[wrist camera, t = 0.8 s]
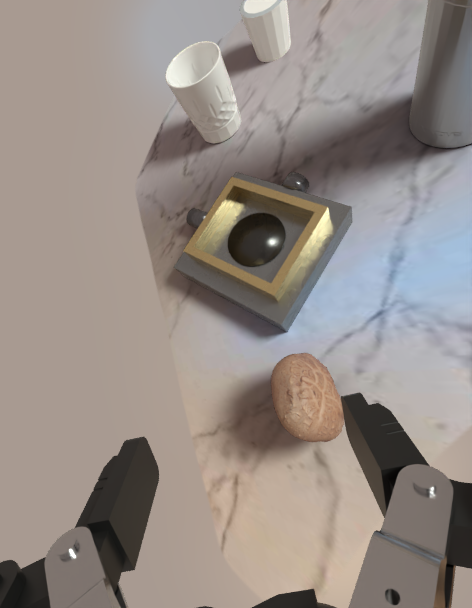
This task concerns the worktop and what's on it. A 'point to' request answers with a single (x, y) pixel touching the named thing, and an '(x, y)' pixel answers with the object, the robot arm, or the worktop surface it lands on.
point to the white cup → (205, 91)
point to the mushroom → (306, 398)
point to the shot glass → (267, 27)
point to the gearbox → (264, 245)
